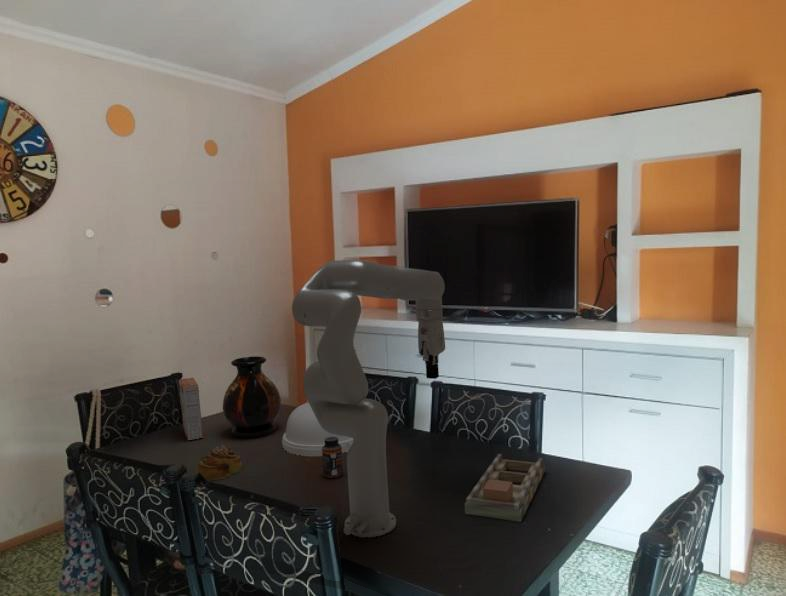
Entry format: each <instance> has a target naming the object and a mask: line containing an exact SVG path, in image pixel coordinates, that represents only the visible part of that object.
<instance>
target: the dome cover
mask: <svg viewBox="0 0 786 596" xmlns="http://www.w3.org/2000/svg"><path fill="white" fill-rule="evenodd" d="M327 437H337V438H338V443H339V444H340V445H341V447H342V454H344V452H345V453H348V451H349V449H350V447H351V445H352V444H353V440H354V439H353V438H352V437H348V436H342V435H336V434H332V433H328V432H326V431H325V430H324V429H323V428H322V427H321V426H320V424H319V422H318V420H317V418H316V416H315V414H314V412H313V410H312V408H311V406H310V404H309V402H308V401H307V402H305V403H303V404H301V405H298V406H297V407H296V408H295V409H293V411H292V412H291V413H290V414H289V416H288V419H287V423H286V427H285V432H284V433H283V435H282V438H281V439H282V440H281V441H282V442H281V443H282V445H281V446H283V447H282V449H283V448H284V449H283V450H284V451H285V450H286V451H287V452H286V451H285V452H286V453H288V452H289V453H288V454H291V453H292V454H291V455H294V454H296V455H295V456H299V455H301V457H322V447H323V446H324V445H325V438H327Z"/></svg>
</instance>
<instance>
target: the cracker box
mask: <svg viewBox="0 0 786 596" xmlns="http://www.w3.org/2000/svg"><path fill="white" fill-rule="evenodd" d="M178 386H179V395H180V404H181V414H182V416H181V417H182V424H183V432H184V434H185V437H187V438H186V440H187V441H188V440H192V439H199V438H203V439H204V433H203V432H204V431H203V423H202V413H201V412H202V411H201V402H200V392H199V385H198V383H197V380H195V378H194V377H188V378H181V379H178ZM199 440H200V439H199Z"/></svg>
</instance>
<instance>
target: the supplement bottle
mask: <svg viewBox="0 0 786 596" xmlns="http://www.w3.org/2000/svg"><path fill="white" fill-rule="evenodd" d="M321 458H322V471H323V472H322V473H323V476H324V477H325V478H328V479H336V478H339V477H341V476H343V474H344V467H343V466H344V465H343V453H342V447H341V445H340V444H339V443H338V438H337V437H327V438H325V445H324V446H323V447H322V456H321Z"/></svg>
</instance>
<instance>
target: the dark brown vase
mask: <svg viewBox="0 0 786 596" xmlns="http://www.w3.org/2000/svg"><path fill="white" fill-rule="evenodd" d="M266 362H267V358H266V357H264V356H258V355H257V356H254V355H253V356H245V357H244V356H243V357H239V358H236V359H233V360H232V361H231V362H230V365H232V366H233V367H236V370H237V374H236V376H235V378H234V379H233V380H232V382H230V384H229V386H228V387H227V389H226V391H225V394H224V397H223V401H222V413H223V416H224V418H225V420H226V421H227V422H228V424H229V425H231V426H232V428H231V433H232V434H233V436H236V437H238V438H241V437H245V438H247V439H249V438H250V437H252V438H258V436H259V437H263V436H267V435H269V434H271V433H272V432H274V431H275V430H276V428H277V424H276V423H275V421H276V419H277V418H278V417H279V415H280V413H281V409H282V399H281V396H280V391H279V390H278V388H277V385H276V384H274V382H273V381H272V380H271V379H270V378H269V377H268V376H266V375H265V374H264V373H263V371H262V365H263V364H264V363H266ZM266 434H267V435H266ZM245 438H244V439H245ZM250 439H251V438H250Z"/></svg>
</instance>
